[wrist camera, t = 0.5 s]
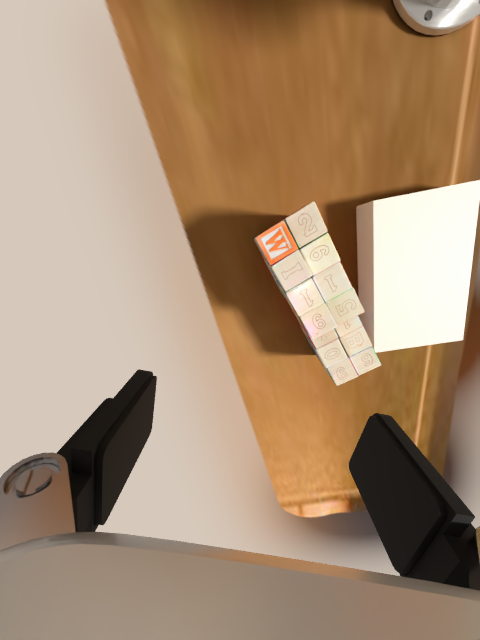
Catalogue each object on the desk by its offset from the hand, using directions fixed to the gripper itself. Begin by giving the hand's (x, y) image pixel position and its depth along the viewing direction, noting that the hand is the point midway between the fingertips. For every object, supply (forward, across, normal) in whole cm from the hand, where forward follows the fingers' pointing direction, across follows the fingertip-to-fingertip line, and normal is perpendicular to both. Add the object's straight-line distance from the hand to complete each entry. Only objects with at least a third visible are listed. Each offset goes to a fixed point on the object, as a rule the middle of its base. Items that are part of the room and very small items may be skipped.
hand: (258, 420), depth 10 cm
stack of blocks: (+28, -8, -2) cm, 29 cm away
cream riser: (+28, -21, -7) cm, 36 cm away
